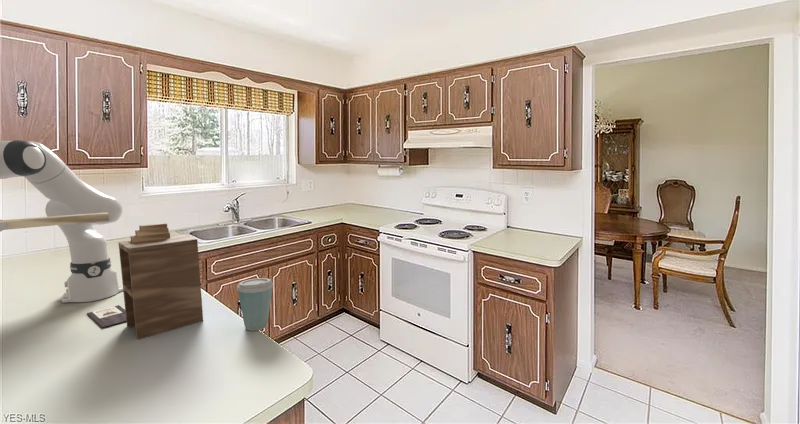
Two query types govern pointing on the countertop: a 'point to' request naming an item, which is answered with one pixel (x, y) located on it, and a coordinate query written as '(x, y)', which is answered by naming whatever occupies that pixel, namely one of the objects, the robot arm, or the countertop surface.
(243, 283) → the disposable coffee cup
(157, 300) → the rack
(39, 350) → the countertop surface
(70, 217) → the birch strip
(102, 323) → the chocolate bar
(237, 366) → the countertop surface
